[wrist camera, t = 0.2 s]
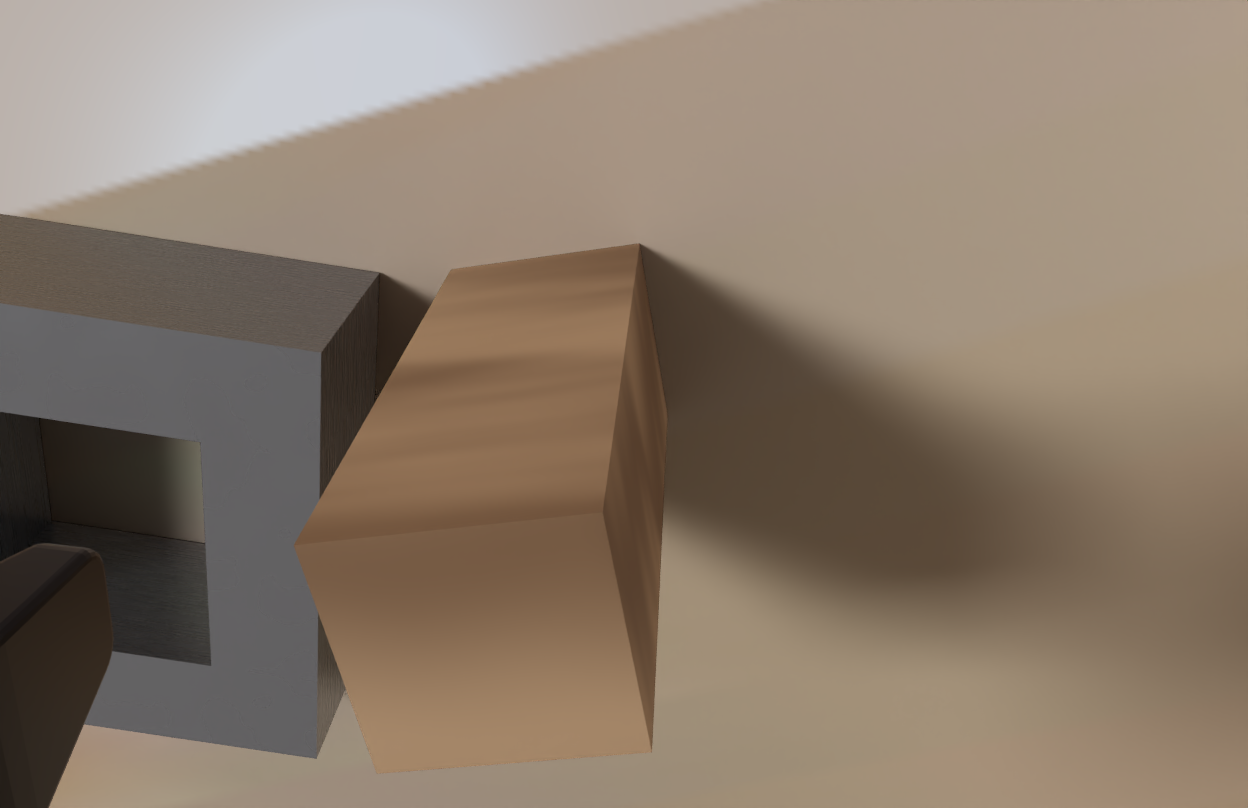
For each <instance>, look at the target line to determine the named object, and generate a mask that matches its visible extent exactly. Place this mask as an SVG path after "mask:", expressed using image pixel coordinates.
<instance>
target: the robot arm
mask: <svg viewBox="0 0 1248 808" xmlns="http://www.w3.org/2000/svg"><path fill="white" fill-rule="evenodd" d="M112 649H113V627H112V619H111V612H110V604H109V597H108V590H107V582H106V575H105V568H104V564H103V560H102V559H101V557H100V555H99V554H98V553H97V552H96V551H94V550H92V549H90V548H85V547H76V546H68V545H59V544H51V543H41V544H36V545H34V546H31V547H29V548H27V549H25V550H22V551H20V552H18V553H16V554H14V555H12V556H10V557H8V558H6V559H4V560H2V561H0V808H49V806H50V803H51V801H52V799H53V796H54V794H55V791H56V789H57V787H58V784H59V782H60V780H61V777H62V775H63V773H64V770H65V768H66V766H67V763H68V761H69V758H70V756H71V754H72V751H73V749H74V747H75V744H76V742H77V740H78V737H79V735H80V732H81V730H82V728H83V725H84V723H85V721H86V718H87V716H88V714H89V711H90V709H91V707H92V704H93V702H94V699H95V697H96V695H97V692H98V690H99V688H100V685H101V683H102V681H103V678H104V676H105V673H106V671H107V668H108V666H109V663H110V659H111V655H112Z"/></svg>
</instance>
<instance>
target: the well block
mask: <svg viewBox="0 0 1248 808" xmlns="http://www.w3.org/2000/svg"><path fill="white" fill-rule="evenodd" d="M379 274H380V273H377V272H371V271H364V270H358V269H352V268H345V267H339V266H332V265H326V264H319V263H313V262H306V261H300V260H293V259H287V258H281V257H274V256H268V255H261V254H255V253H248V252H242V251H235V250H229V249H223V248H216V247H210V246H203V245H197V244H190V243H184V242H177V241H171V240H164V239H158V238H152V237H145V236H139V235H132V234H126V233H119V232H113V231H106V230H100V229H93V228H87V227H81V226H74V225H68V224H61V223H55V222H48V221H42V220H35V219H29V218H23V217H16V216H10V215H3V214H0V561H2V560H4V559H6V558H8V557H10V556H12V555H14V554H16V553H18V552H20V551H22V550H25V549H27V548H29V547H31V546H34V545H36V544H41V543H51V544H59V545H68V546H76V547H85V548H90V549H92V550H94V551H96V552H97V553H98V554H99V555H100V557H101V559H102V560H103V564H104V568H105V575H106V582H107V590H108V597H109V604H110V612H111V619H112V627H113V649H112V655H111V659H110V663H109V666H108V668H107V671H106V673H105V676H104V678H103V681H102V683H101V685H100V688H99V690H98V692H97V695H96V697H95V699H94V702H93V704H92V707H91V709H90V711H89V714H88V716H87V718H86V721H85V723H84V724H86V725H93V726H100V727H106V728H113V729H120V730H127V731H133V732H140V733H147V734H154V735H160V736H167V737H174V738H180V739H187V740H194V741H201V742H207V743H214V744H221V745H228V746H234V747H241V748H248V749H255V750H261V751H268V752H275V753H282V754H288V755H295V756H302V757H309V758H315V759H317V756H318V754H319V751H320V749H321V747H322V744H323V742H324V739H325V737H326V735H327V732H328V730H329V727H330V725H331V722H332V720H333V718H334V715H335V713H336V710H337V708H338V705H339V703H340V701H341V698H342V696H343V693H344V691H345V688H346V687H345V685H344V682H343V679H342V677H341V674H340V671H339V668H338V666H337V663H336V660H335V657H334V655H333V652H332V649H331V646H330V644H329V641H328V638H327V636H326V633H325V630H324V627H323V625H322V622H321V619H320V616H319V614H318V611H317V608H316V605H315V603H314V600H313V597H312V594H311V592H310V589H309V586H308V584H307V581H306V578H305V575H304V573H303V570H302V567H301V564H300V562H299V559H298V556H297V553H296V551H295V548H294V544H295V542H296V540H297V538H298V537H299V535H300V533H301V531H302V530H303V528H304V526H305V524H306V523H307V521H308V519H309V517H310V516H311V514H312V512H313V510H314V509H315V507H316V505H317V503H318V502H319V500H320V498H321V496H322V495H323V493H324V491H325V489H326V488H327V486H328V484H329V482H330V481H331V479H332V477H333V475H334V474H335V472H336V470H337V468H338V467H339V465H340V463H341V461H342V460H343V458H344V456H345V454H346V453H347V451H348V449H349V447H350V446H351V444H352V442H353V440H354V439H355V437H356V435H357V433H358V432H359V430H360V428H361V426H362V425H363V423H364V421H365V419H366V418H367V416H368V414H369V412H370V411H371V409H372V407H373V405H374V404H375V379H376V353H377V326H378V300H379ZM39 418H45V419H51V420H58V421H64V422H71V423H78V424H84V425H91V426H97V427H104V428H110V429H117V430H124V431H130V432H137V433H143V434H150V435H156V436H163V437H170V438H176V439H183V440H189V441H196V442H200V445H201V465H202V485H203V506H204V526H205V544H202V543H196V542H189V541H182V540H176V539H169V538H163V537H156V536H149V535H143V534H136V533H129V532H123V531H116V530H110V529H103V528H96V527H90V526H83V525H76V524H70V523H63V522H57V521H52V519H51V511H50V503H49V496H48V488H47V480H46V472H45V465H44V457H43V449H42V441H41V434H40V426H39Z"/></svg>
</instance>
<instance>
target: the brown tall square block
mask: <svg viewBox="0 0 1248 808" xmlns="http://www.w3.org/2000/svg"><path fill="white" fill-rule="evenodd" d="M667 418H668V413H667V407H666V401H665V395H664V389H663V383H662V377H661V371H660V365H659V359H658V353H657V347H656V341H655V334H654V328H653V322H652V316H651V310H650V304H649V298H648V292H647V286H646V280H645V274H644V268H643V262H642V256H641V250H640V244H632V245H625V246H618V247H611V248H603V249H596V250H589V251H582V252H574V253H567V254H560V255H553V256H546V257H538V258H531V259H524V260H517V261H510V262H502V263H495V264H488V265H481V266H473V267H466V268H459V269H452V270H451V271H450V272H449V274H448V276H447V278H446V279H445V281H444V283H443V285H442V286H441V288H440V290H439V292H438V293H437V295H436V297H435V299H434V300H433V302H432V304H431V306H430V307H429V309H428V311H427V313H426V314H425V316H424V318H423V320H422V321H421V323H420V325H419V327H418V328H417V330H416V332H415V334H414V335H413V337H412V339H411V341H410V342H409V344H408V346H407V348H406V349H405V351H404V353H403V355H402V356H401V358H400V360H399V362H398V363H397V365H396V367H395V369H394V370H393V372H392V374H391V376H390V377H389V379H388V381H387V383H386V384H385V386H384V388H383V390H382V391H381V393H380V395H379V397H378V398H377V400H376V402H375V404H374V405H373V407H372V409H371V411H370V412H369V414H368V416H367V418H366V419H365V421H364V423H363V425H362V426H361V428H360V430H359V432H358V433H357V435H356V437H355V439H354V440H353V442H352V444H351V446H350V447H349V449H348V451H347V453H346V454H345V456H344V458H343V460H342V461H341V463H340V465H339V467H338V468H337V470H336V472H335V474H334V475H333V477H332V479H331V481H330V482H329V484H328V486H327V488H326V489H325V491H324V493H323V495H322V496H321V498H320V500H319V502H318V503H317V505H316V507H315V509H314V510H313V512H312V514H311V516H310V517H309V519H308V521H307V523H306V524H305V526H304V528H303V530H302V531H301V533H300V535H299V537H298V538H297V540H296V542H295V544H294V548H295V551H296V553H297V556H298V559H299V562H300V564H301V567H302V570H303V573H304V575H305V578H306V581H307V584H308V586H309V589H310V592H311V594H312V597H313V600H314V603H315V605H316V608H317V611H318V614H319V616H320V619H321V622H322V625H323V627H324V630H325V633H326V636H327V638H328V641H329V644H330V646H331V649H332V652H333V655H334V657H335V660H336V663H337V666H338V668H339V671H340V674H341V677H342V679H343V682H344V685H345V687H346V690H347V693H348V696H349V698H350V701H351V704H352V707H353V709H354V712H355V715H356V718H357V720H358V723H359V726H360V728H361V731H362V734H363V737H364V739H365V742H366V745H367V748H368V750H369V753H370V756H371V759H372V761H373V764H374V767H375V770H376V772H377V774H378V773H391V772H403V771H416V770H429V769H442V768H455V767H467V766H480V765H493V764H506V763H519V762H532V761H544V760H557V759H570V758H583V757H596V756H608V755H621V754H634V753H647V752H652V738H653V717H654V696H655V674H656V653H657V632H658V610H659V589H660V568H661V546H662V525H663V504H664V482H665V461H666V440H667Z"/></svg>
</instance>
